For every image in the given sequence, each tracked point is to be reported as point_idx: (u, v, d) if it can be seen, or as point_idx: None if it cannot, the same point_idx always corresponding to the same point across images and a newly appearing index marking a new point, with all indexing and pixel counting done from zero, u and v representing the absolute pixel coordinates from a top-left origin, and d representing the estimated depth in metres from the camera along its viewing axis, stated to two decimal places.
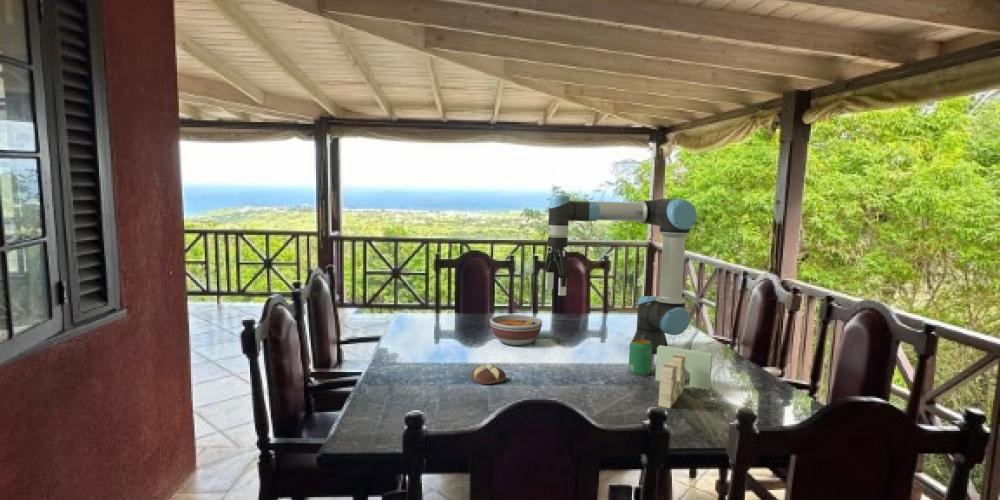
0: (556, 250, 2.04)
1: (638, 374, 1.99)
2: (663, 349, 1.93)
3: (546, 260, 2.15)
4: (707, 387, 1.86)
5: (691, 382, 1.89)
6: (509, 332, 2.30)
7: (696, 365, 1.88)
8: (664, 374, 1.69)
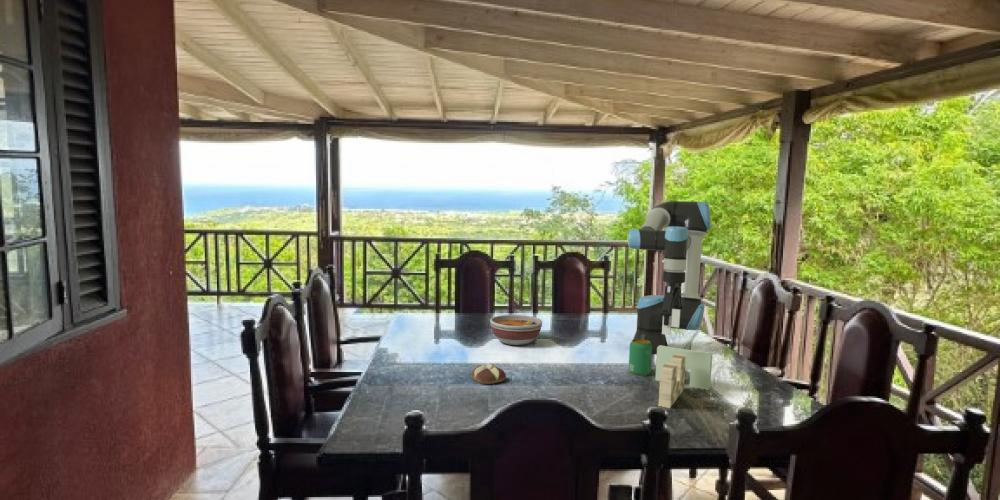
0: None
1: (638, 374, 1.99)
2: (663, 349, 1.93)
3: None
4: (707, 387, 1.86)
5: (691, 382, 1.89)
6: (509, 332, 2.30)
7: (696, 365, 1.88)
8: (664, 374, 1.69)
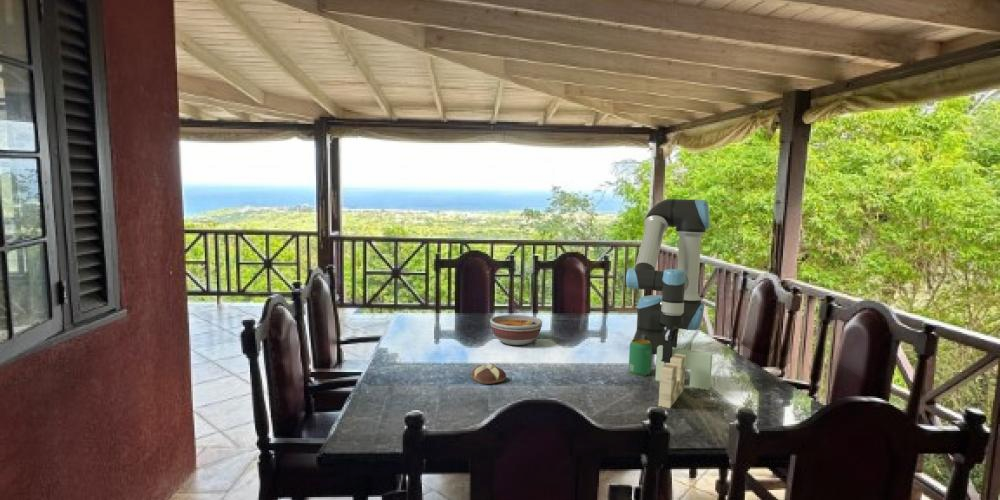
0: None
1: (638, 374, 1.99)
2: None
3: None
4: (707, 387, 1.86)
5: (691, 382, 1.89)
6: (509, 332, 2.30)
7: (696, 365, 1.88)
8: (664, 374, 1.69)
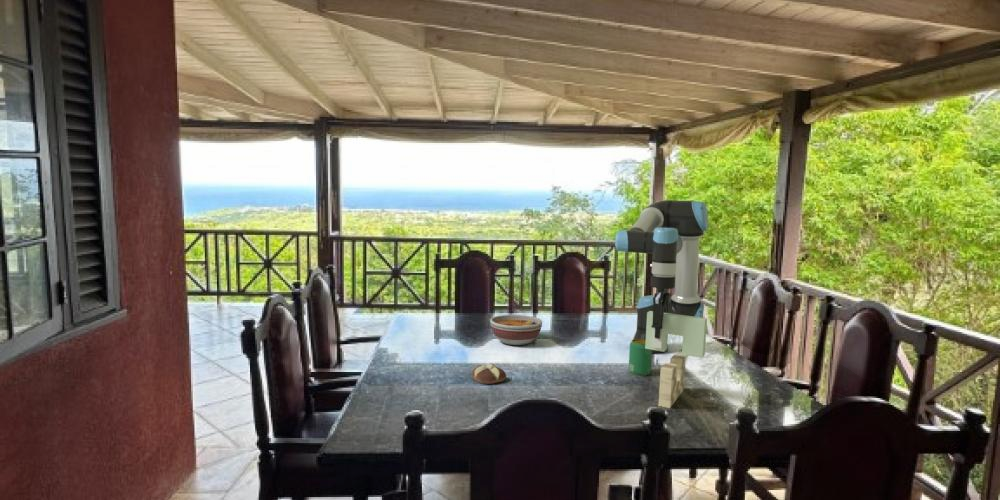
0: None
1: (638, 374, 1.99)
2: None
3: None
4: (701, 354, 1.71)
5: (684, 349, 1.73)
6: (509, 332, 2.30)
7: (689, 331, 1.72)
8: (664, 374, 1.69)
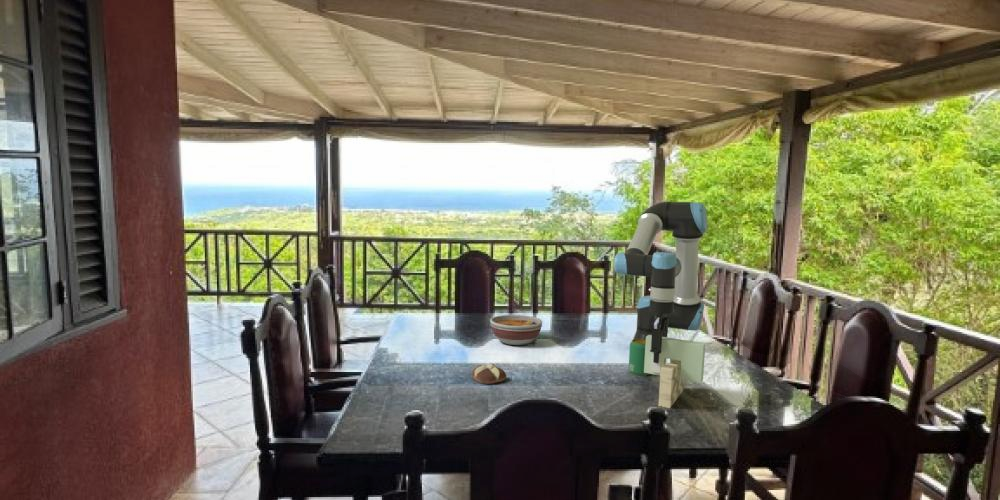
0: None
1: (638, 374, 1.99)
2: None
3: None
4: (699, 379, 1.72)
5: (682, 374, 1.74)
6: (509, 332, 2.30)
7: (688, 356, 1.73)
8: (664, 374, 1.69)
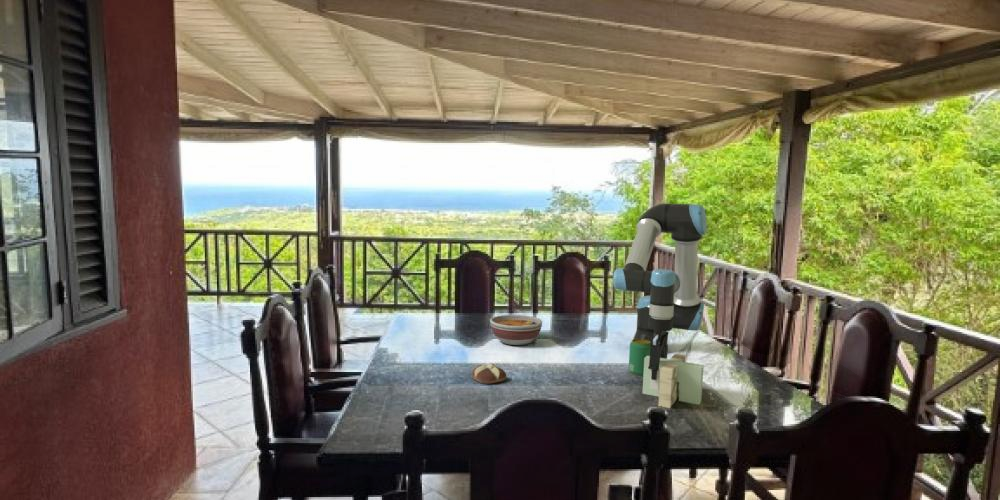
0: None
1: (638, 374, 1.99)
2: None
3: None
4: (698, 401, 1.73)
5: (681, 396, 1.75)
6: (509, 332, 2.30)
7: (686, 378, 1.74)
8: (664, 374, 1.69)
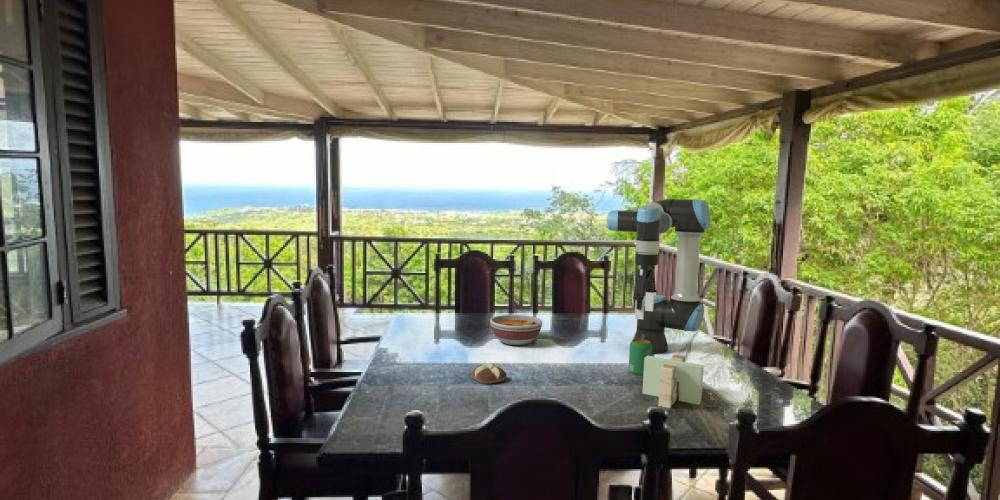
0: None
1: (638, 374, 1.99)
2: (651, 360, 1.79)
3: None
4: (698, 401, 1.73)
5: (681, 396, 1.75)
6: (509, 332, 2.30)
7: (686, 378, 1.74)
8: (664, 374, 1.69)
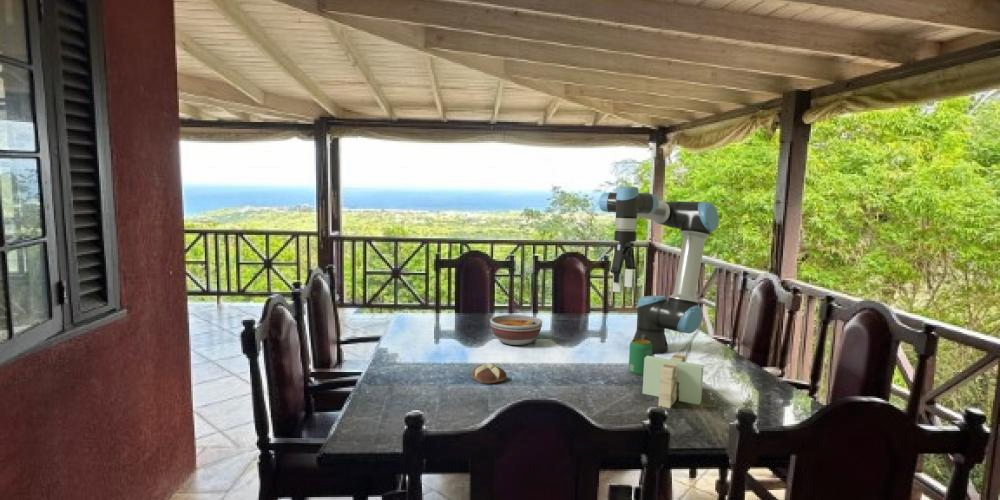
0: None
1: (638, 374, 1.99)
2: (651, 360, 1.79)
3: None
4: (698, 401, 1.73)
5: (681, 396, 1.75)
6: (509, 332, 2.30)
7: (686, 378, 1.74)
8: (664, 374, 1.69)
